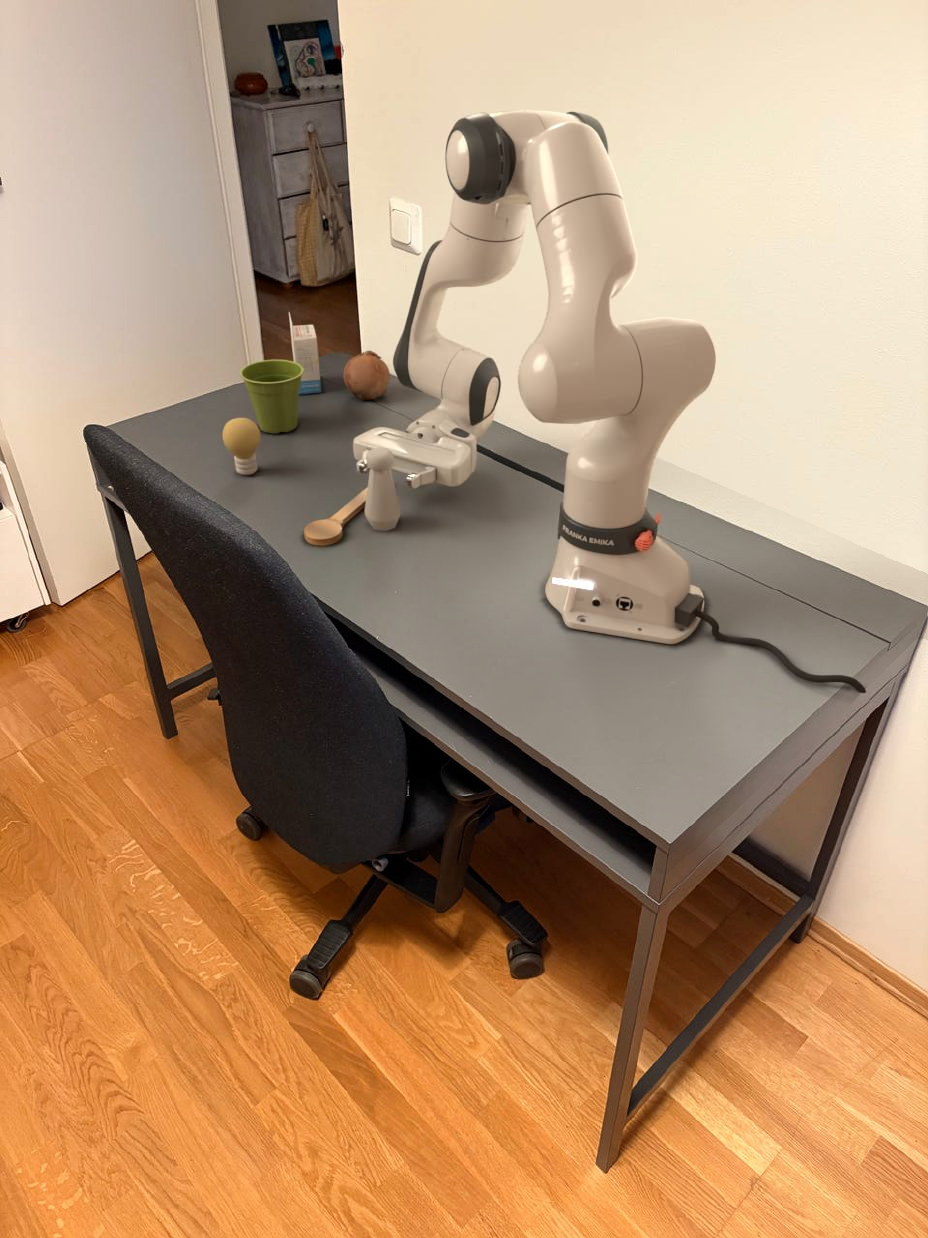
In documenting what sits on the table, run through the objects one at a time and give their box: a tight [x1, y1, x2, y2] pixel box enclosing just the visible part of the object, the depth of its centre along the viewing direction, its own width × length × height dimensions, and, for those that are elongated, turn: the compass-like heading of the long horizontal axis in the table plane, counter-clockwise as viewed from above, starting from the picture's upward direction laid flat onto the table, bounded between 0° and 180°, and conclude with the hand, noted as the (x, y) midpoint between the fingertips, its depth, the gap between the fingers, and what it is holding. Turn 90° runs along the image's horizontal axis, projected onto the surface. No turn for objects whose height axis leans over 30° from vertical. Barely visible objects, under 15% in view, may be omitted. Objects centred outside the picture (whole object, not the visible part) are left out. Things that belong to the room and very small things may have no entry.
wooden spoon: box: [303, 486, 368, 547], centre depth 150 cm, size 22×6×1 cm, turn 154°
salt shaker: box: [364, 448, 402, 532], centre depth 144 cm, size 6×6×13 cm
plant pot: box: [239, 359, 304, 434], centre depth 174 cm, size 12×12×11 cm
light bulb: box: [222, 417, 262, 476], centre depth 159 cm, size 6×6×10 cm
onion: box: [342, 350, 391, 401], centre depth 186 cm, size 10×9×10 cm
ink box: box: [288, 311, 322, 395], centre depth 188 cm, size 8×5×15 cm, turn 13°
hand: (385, 476), depth 143 cm, fingers open, 8 cm apart
